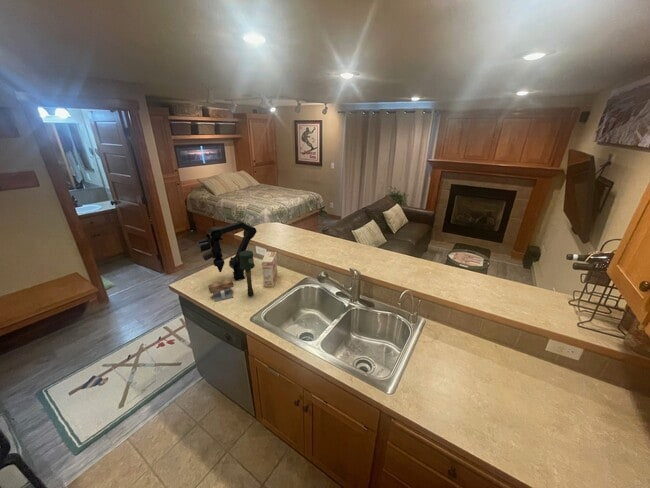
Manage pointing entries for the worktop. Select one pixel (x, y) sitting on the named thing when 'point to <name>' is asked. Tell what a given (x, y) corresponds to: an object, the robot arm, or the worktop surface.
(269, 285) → the coffeecake box
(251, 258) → the potato masher grenade
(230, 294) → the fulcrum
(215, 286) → the plank
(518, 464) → the worktop surface
